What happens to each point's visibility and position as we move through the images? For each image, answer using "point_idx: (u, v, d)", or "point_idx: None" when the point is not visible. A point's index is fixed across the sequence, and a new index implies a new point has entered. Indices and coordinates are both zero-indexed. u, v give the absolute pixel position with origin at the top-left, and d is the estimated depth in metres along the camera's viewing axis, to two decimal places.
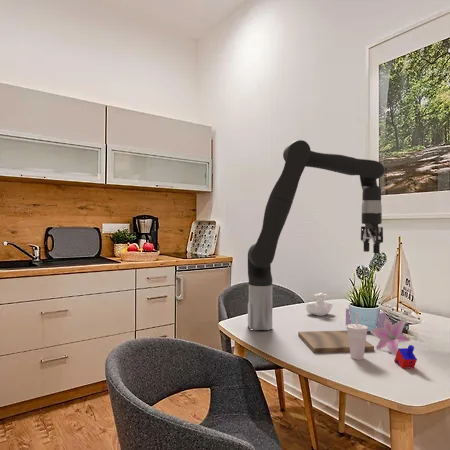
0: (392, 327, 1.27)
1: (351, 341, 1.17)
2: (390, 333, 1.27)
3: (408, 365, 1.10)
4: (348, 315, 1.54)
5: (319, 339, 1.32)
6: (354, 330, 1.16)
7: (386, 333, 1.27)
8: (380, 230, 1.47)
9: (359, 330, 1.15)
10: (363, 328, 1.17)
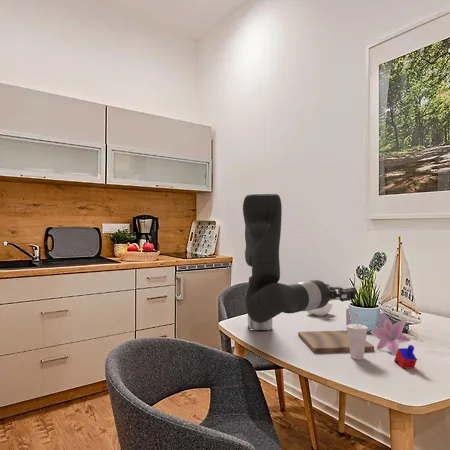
0: (392, 327, 1.26)
1: (351, 342, 1.17)
2: (390, 333, 1.27)
3: (408, 365, 1.10)
4: (349, 315, 1.54)
5: (319, 339, 1.32)
6: (354, 330, 1.16)
7: (386, 333, 1.27)
8: None
9: (359, 330, 1.15)
10: (363, 328, 1.17)
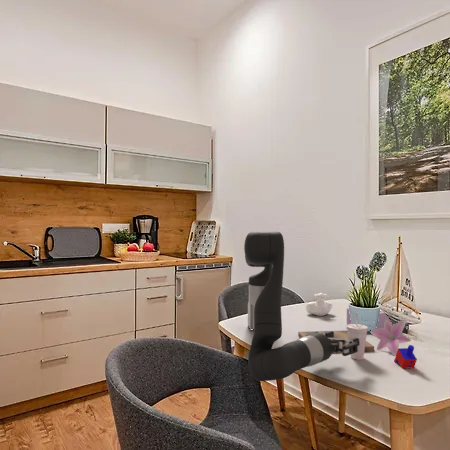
0: (392, 327, 1.26)
1: None
2: (390, 333, 1.27)
3: (408, 365, 1.10)
4: (349, 315, 1.54)
5: None
6: (354, 330, 1.16)
7: (386, 333, 1.27)
8: None
9: (359, 330, 1.15)
10: (363, 328, 1.17)
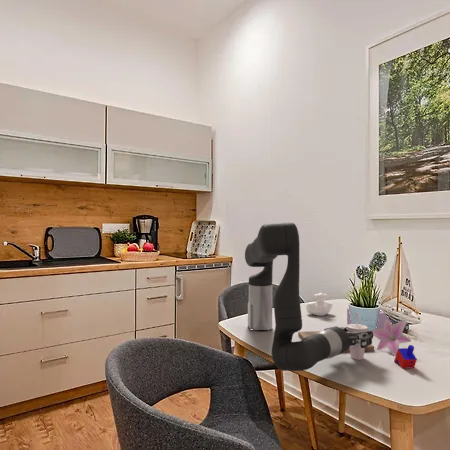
0: (392, 328, 1.26)
1: None
2: (390, 334, 1.26)
3: (408, 365, 1.10)
4: None
5: None
6: (354, 330, 1.16)
7: (386, 334, 1.27)
8: None
9: (359, 330, 1.16)
10: (363, 328, 1.17)
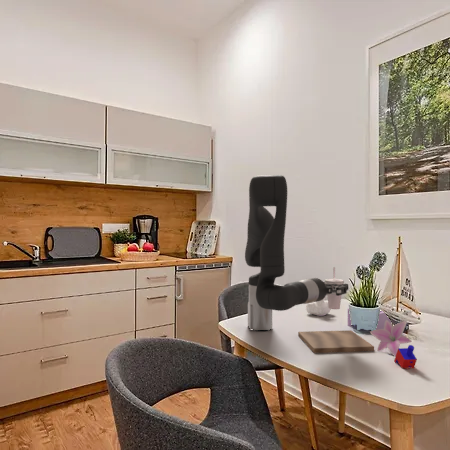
0: (393, 328, 1.25)
1: None
2: (390, 334, 1.26)
3: (408, 365, 1.10)
4: None
5: (319, 339, 1.32)
6: (331, 282, 1.29)
7: (386, 334, 1.26)
8: None
9: (336, 282, 1.29)
10: (339, 281, 1.30)
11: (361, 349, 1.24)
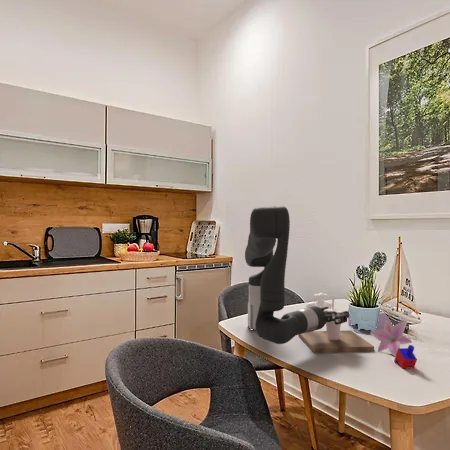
0: (393, 329, 1.25)
1: (327, 324, 1.31)
2: (391, 335, 1.25)
3: (408, 365, 1.10)
4: None
5: (319, 339, 1.32)
6: None
7: (387, 335, 1.25)
8: None
9: None
10: None
11: (361, 349, 1.24)
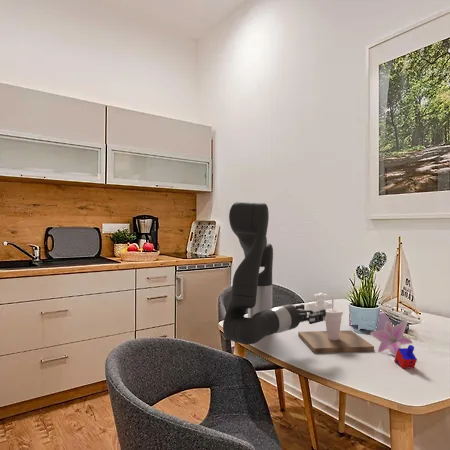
0: (393, 329, 1.24)
1: (327, 324, 1.31)
2: (391, 335, 1.25)
3: (408, 365, 1.10)
4: None
5: (319, 339, 1.32)
6: (330, 314, 1.30)
7: (387, 335, 1.25)
8: None
9: (334, 313, 1.29)
10: (338, 312, 1.30)
11: (361, 349, 1.24)
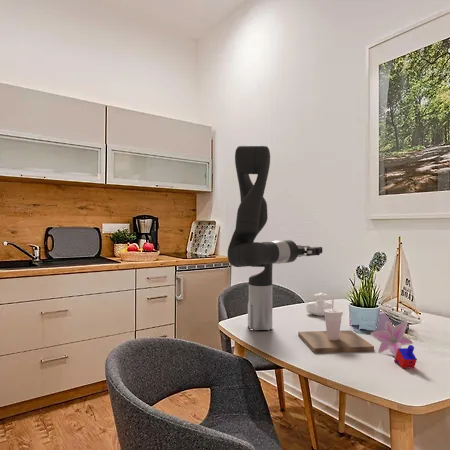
0: (393, 329, 1.24)
1: (327, 324, 1.31)
2: (391, 336, 1.24)
3: (408, 365, 1.10)
4: None
5: (319, 339, 1.32)
6: (330, 314, 1.30)
7: (387, 336, 1.24)
8: None
9: (334, 314, 1.29)
10: (338, 312, 1.30)
11: (361, 349, 1.24)
